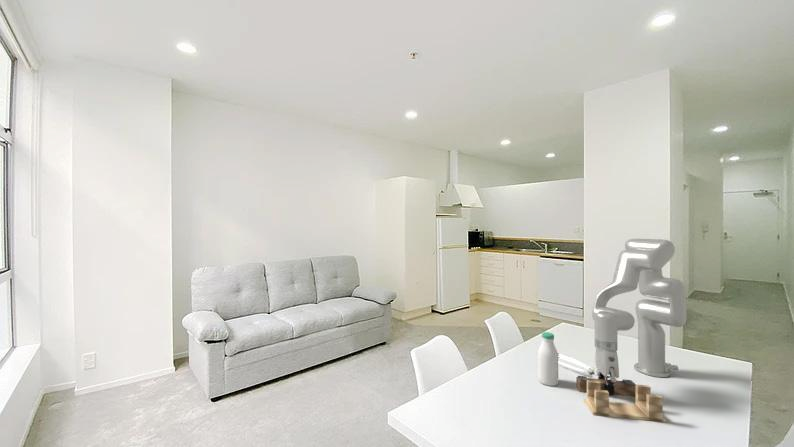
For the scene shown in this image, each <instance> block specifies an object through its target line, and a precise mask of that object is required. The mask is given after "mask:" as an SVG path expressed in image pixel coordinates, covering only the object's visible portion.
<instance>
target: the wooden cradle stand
mask: <svg viewBox="0 0 794 447" xmlns="http://www.w3.org/2000/svg"><path fill="white" fill-rule="evenodd" d="M635 384H636V383H635ZM663 398H664V397H662V395H658V394H652V392H651V386H649V385H646V384H636V397H635V403H627V402H621V401H619V402H618V401H610V395H609V392H608V391H605V390H600V382H599V381H590V380H587V393H586V398H583V403H584V404H585V406H586V407H587V409H588V411H590V413H591V415H592V416H601V417H610V418H621V419H629V420H639V421H647V422H648V421H649V422H657V423H658V422H659V423H667V419H666V417H664V416H663V414H664V413H663V411H664V410H663V409H664V407H663V402H664V401H663Z"/></svg>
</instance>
